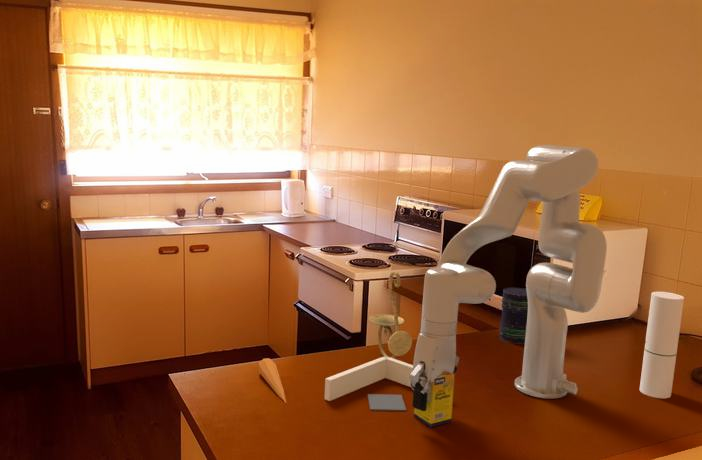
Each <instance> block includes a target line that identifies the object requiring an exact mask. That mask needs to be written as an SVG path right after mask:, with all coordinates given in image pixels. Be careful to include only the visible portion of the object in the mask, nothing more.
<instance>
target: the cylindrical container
mask: <svg viewBox="0 0 702 460" xmlns="http://www.w3.org/2000/svg"><path fill="white" fill-rule="evenodd" d="M684 300H685V297H684V296H683V295H680V294H677V293H675V292H674V293H673V292H668V291H653V292H652V291H651V295H650V303H649V311H648V320H647V326H646V334H645V343H644V350H643V357H642V358H643V359H642V366H641V367H642V368H641V376H640V384H639V391H640V393H642V394H643V395H646V396H648V397H651V398H654V399H655V398H656V399H668V398H671V396H672V390H673V383H674V382H673V381H674V375H675V367H676V361H677V360H676V359H677V354H678V353H677V352H678V345H679V338H680V331H681V324H682V316H683V308H684Z"/></svg>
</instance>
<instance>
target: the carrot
mask: <svg viewBox="0 0 702 460" xmlns="http://www.w3.org/2000/svg"><path fill="white" fill-rule="evenodd" d="M258 373H259V374H260V375H261V376H262V377H263V379H264V381H266V383H268V385H269V386H270V387H271V389H272V390H273V391H274V393H276V395H277V396H278V397H279V398H280V399H281V400H282V401H283V403H285V405H286V404H287V400H286V394H285V391H284V386H283V384H282V381H281V376H280V374H279V371H278V367H277V365H276V362H275V361H273V360H272V359H271V358H263V359H262V360H260V361H259V362H258Z"/></svg>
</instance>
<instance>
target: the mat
mask: <svg viewBox="0 0 702 460" xmlns="http://www.w3.org/2000/svg"><path fill="white" fill-rule="evenodd" d="M367 400H368V405H369V410H370V411H378V412H379V411H381V412H383V411H384V412H385V411H386V412H387V411H388V412H389V411H390V412H393V411H394V412H395V411H396V412H407V408H406V404H405V402H404V399H403V395H402V394H387V393H386V394H385V393H384V394H381V393H380V394H379V393H377V394H376V393H373V394H372V393H367Z"/></svg>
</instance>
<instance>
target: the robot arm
mask: <svg viewBox="0 0 702 460" xmlns="http://www.w3.org/2000/svg"><path fill="white" fill-rule="evenodd" d="M598 169H599V161H598V157H597V155H596V154H595V152H593V151H592V150H591V149H589V148H585V147H580V146H566V145H565V146H564V145H556V144H555V145H553V144H542V145H541V144H540V145H536V146H534V147H532V148H530V149H529V150H528V151H527V154H526V157H525V159H523V160H522V159H518V160H517V159H515V160H511V161H508V162H507V163H506V164H504V165H503V167H502V168H501V170H500V172H499V174H498V176H497V179H496V180H495V182H494V184H493V186H492V188H491V190H490V192H489V194H488V197H487V199H486V201H485V203H484V205H483V207H482V209H481V211H480V213H479V214H478V216H477V218H475V219H474V220H472V222H470V223H468V224H467V225H466V226H465V227H463V228H462V229H461V230H460V231H458V233H456V234H455V235H454V236H453V237H452V238H451V239H450V241H449V242H448V243H447V245H446V247H445V248H444V250H443V253H442V254H441V256H440V258H439V261H438V263H437V265H436V267H433V268H432V267H431V268H429V269H427V270H426V272H425V275H424V282H423V292H422V293H423V294H422V296H423V297H422V303H421V304H422V310H421V321H420V332H419V333H418V336H417V339H416V340H417V341H416V344H415V349H414V356H413V364H412V365H413V371H412V372H411V374H410V375H409V379H410V382H411V386H412V388H411V390H413V394H412V395H413V396H412V407H413V408H416V409H419V410H421V411H426V408H427V395H428V393H426V390H427V388H428V386H429V384H430V383H432V382H434V379H435V378H437V377H439V376H442V375H444V374H446V373H448V372H451V373H453V374H454V380H455V378H456V375H455V374H456V372H457V370H458V364H459V361H460V357H459V356H457V337H456V336H457V327H458V326H457V325H458V313H459V305H460V304H482V303H485V302H487V301H489V300H491V298H492V297H493V296H494V294H495V292H496V288H497V284H496V283H497V282H496V280H495V278H494V276H493V275H492V274H491V273H490V272H489V271H487V270H485V269H483V268H480V267H476V266H473V265H470V264H467V262H468V260H469V259H470V257H471V256H472V255H473V254H474V253H475V252H476V251H477V250H478V249H480V248H482V247H483V246H485V245H488V244H490V243H494V242H496V241H501V240H503V239H505V238H509V237H511V236H512V235H514V234H515V232H516V230H517V228H518V226H519V223H520V221H521V220H522V217H523V215H524V213H525V212H526V209H527V207H528V205H529V203H530V201H536V202H541V203H542V210H541V215H540V216H541V217H540V223H539V224H540V225H539V232H538V241H537V243H538V249H539V252H540V253H541V254H543V256H546V257H548V258H551V259H553V260H554V259H555V260H558V261H563V262H567V263H571V264H572V267H569V266H566V265H562V264H561V265H560V264H557V263H552V262H539V263H537V264H535V265H533V266H532V267H531V268H530V269H529V271H528V273H527V275H526V281H525V287H526V288H525V289H526V290H527V298H528V315H527V326H526V336H525V344H524V348H523V349H524V350H523V359H522V368H521V369H522V371H521V375H519V376H518V377H516V378H515V379H514V386H515V388H516V389H517V390H518V391H519V392H521V393H523V394H526V395H529V396H530V397H534V398H538V399H539V398H540V399H551V400H552V399H559V398H563V397H565V396H566V395H567V394H573V395H576V394H577V392H578V386H577V383H576V382H573V381H570V380H569V381H568V379H567V374H566V373H564V363H565V353H566V342H567V333H568V326H569V325H568V324H569V323H568V322H569V321H568V316H567V315H568V314H567V312H566V310H569V311H573V312H576V313H584V314H585V313H588V312H591V311H592V310H593V309H594V308H595V307H596V305H597V303H598V302H599V298H600V297H601V290H602V285H603V278H604V273H605V272H604V271H605V264H606V258H607V257H606V256H607V245H608V244H607V239H606V236H605V233H604V232H603V230H601V229H600V227H598V226H596V225H592V224H588V223H583V222H580V211H581V195H580V193H579V190H581V189H583V188H584V187H586V186H588V185H589V184H590V183H591V182H592V181H593V180H594V178H595V177H596V175H597V173H598ZM423 375H424V376H426V377H427V378H425V377H422V376H423ZM421 381H424V382H425V383H424V385H423V386H422V385H421V384H420V382H421Z"/></svg>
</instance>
